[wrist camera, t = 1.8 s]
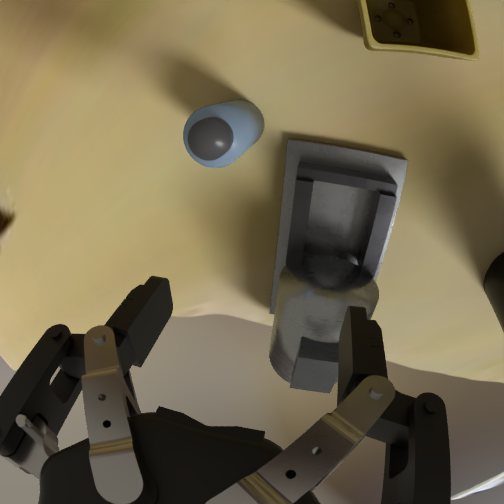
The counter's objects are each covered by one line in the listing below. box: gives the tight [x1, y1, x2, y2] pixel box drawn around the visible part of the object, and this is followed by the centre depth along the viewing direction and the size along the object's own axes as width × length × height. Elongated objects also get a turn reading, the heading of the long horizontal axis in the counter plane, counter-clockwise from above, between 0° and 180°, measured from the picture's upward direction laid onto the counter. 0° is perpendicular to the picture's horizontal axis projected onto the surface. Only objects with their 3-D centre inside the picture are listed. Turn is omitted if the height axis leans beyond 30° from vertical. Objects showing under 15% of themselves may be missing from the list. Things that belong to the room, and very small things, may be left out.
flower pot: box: [357, 0, 479, 61], centre depth 15 cm, size 9×9×9 cm
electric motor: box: [269, 138, 408, 393], centre depth 28 cm, size 24×12×13 cm, turn 177°
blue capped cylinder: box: [183, 100, 264, 168], centre depth 24 cm, size 5×5×9 cm
